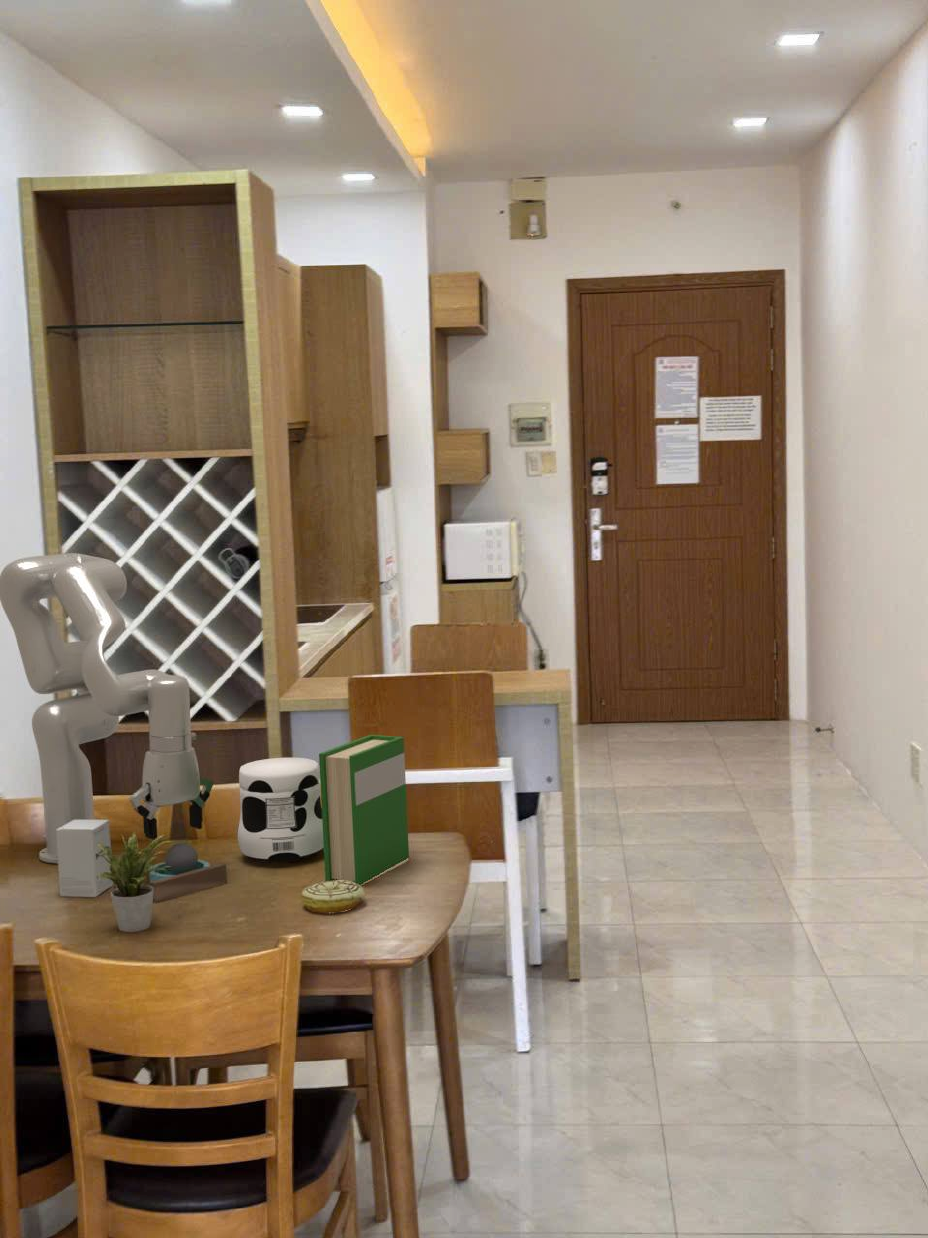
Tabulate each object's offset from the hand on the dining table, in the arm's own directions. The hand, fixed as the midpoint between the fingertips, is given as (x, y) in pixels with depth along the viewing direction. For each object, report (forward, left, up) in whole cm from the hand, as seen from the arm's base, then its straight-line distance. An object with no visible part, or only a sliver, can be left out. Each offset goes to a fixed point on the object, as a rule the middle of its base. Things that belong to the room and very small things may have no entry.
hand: (173, 832), depth 270 cm
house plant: (+20, -19, -9) cm, 29 cm away
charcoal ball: (+1, +1, -5) cm, 5 cm away
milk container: (+3, +22, -9) cm, 24 cm away
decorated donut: (+35, +9, -9) cm, 38 cm away
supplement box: (-7, -15, -9) cm, 19 cm away
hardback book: (+24, +26, -9) cm, 37 cm away
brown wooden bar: (+9, -3, -9) cm, 13 cm away
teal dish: (+1, 0, -9) cm, 9 cm away
